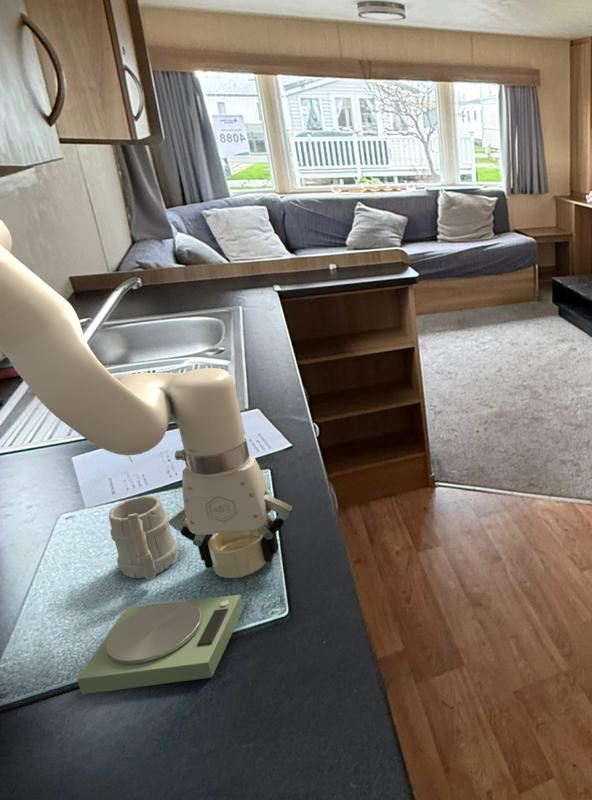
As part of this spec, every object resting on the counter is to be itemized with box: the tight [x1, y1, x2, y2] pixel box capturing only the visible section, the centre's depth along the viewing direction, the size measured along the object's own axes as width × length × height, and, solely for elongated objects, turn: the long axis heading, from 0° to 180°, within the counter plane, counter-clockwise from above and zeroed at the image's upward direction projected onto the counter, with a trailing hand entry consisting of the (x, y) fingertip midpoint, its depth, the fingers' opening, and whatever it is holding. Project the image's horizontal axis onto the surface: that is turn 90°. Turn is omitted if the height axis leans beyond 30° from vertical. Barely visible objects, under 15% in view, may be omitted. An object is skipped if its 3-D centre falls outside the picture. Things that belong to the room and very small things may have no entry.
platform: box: [106, 601, 202, 664], centre depth 81 cm, size 10×10×1 cm
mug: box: [108, 495, 180, 582], centre depth 94 cm, size 8×12×12 cm, turn 35°
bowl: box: [208, 530, 268, 579], centre depth 97 cm, size 7×7×5 cm
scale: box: [76, 594, 245, 695], centre depth 82 cm, size 14×12×3 cm
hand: (241, 558), depth 97 cm, fingers closed on bowl, 7 cm apart
